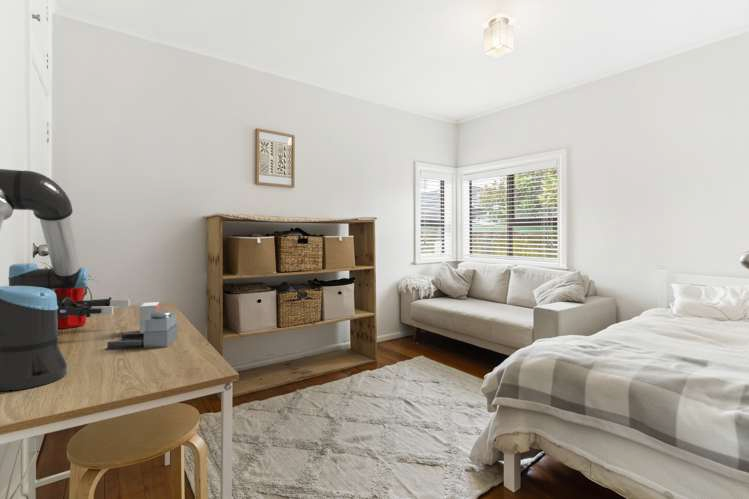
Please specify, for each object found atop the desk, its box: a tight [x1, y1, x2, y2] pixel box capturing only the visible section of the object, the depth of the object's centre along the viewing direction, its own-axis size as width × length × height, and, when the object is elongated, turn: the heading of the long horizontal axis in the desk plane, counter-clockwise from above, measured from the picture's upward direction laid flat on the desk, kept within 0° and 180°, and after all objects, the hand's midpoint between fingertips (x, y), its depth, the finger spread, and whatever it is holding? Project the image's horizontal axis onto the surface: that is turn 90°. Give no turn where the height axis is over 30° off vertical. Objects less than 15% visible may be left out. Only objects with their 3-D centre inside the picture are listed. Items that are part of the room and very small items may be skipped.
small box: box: [139, 301, 161, 333], centre depth 143 cm, size 8×6×10 cm
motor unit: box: [106, 310, 179, 350], centre depth 128 cm, size 11×18×10 cm, turn 101°
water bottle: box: [53, 287, 87, 330], centre depth 150 cm, size 9×11×25 cm
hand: (121, 306), depth 141 cm, fingers open, 13 cm apart
